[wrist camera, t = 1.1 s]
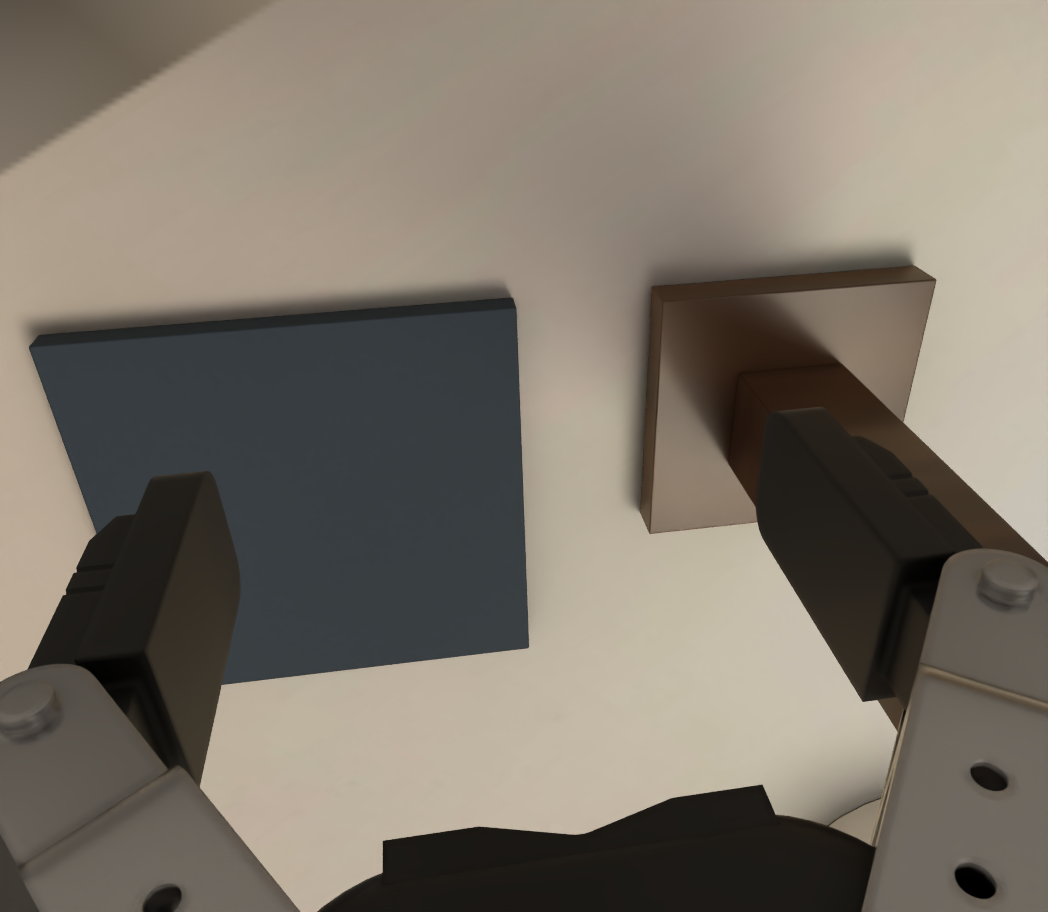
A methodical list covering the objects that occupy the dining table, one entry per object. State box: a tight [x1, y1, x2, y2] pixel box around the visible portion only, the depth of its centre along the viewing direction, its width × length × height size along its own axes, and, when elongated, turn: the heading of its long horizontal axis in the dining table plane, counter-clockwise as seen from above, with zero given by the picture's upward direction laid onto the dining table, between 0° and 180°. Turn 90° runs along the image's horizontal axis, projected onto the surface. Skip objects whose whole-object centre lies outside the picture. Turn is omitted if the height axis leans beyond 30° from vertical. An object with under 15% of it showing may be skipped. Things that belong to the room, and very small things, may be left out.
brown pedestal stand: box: [640, 266, 1048, 732], centre depth 21 cm, size 10×10×32 cm
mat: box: [29, 298, 529, 685], centre depth 33 cm, size 16×16×1 cm
